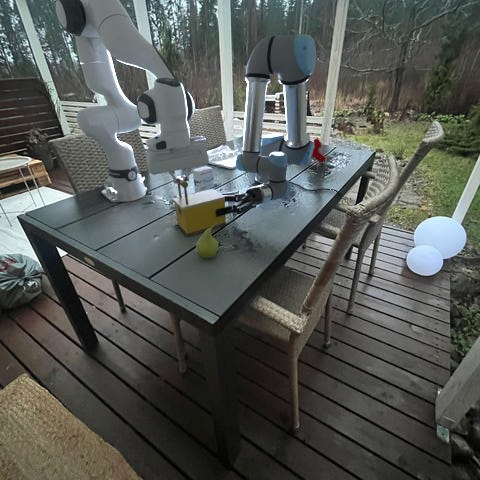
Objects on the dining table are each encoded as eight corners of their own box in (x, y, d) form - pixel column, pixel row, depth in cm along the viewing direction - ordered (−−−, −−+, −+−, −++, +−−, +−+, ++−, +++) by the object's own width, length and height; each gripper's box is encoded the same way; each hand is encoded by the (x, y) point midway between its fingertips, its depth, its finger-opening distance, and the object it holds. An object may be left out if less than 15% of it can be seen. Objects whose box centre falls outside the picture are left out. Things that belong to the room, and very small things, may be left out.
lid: (182, 210, 91) (178, 184, 86) (172, 201, 98) (168, 176, 93) (224, 199, 99) (223, 174, 94) (213, 191, 105) (211, 167, 100)
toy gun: (330, 157, 167) (317, 136, 163) (329, 159, 164) (317, 138, 160) (304, 172, 177) (292, 153, 173) (303, 174, 174) (291, 155, 170)
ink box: (208, 188, 135) (206, 165, 129) (214, 191, 132) (213, 167, 126) (194, 193, 130) (191, 169, 124) (200, 196, 127) (198, 172, 121)
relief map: (231, 168, 161) (231, 160, 158) (189, 159, 179) (189, 151, 176) (257, 158, 179) (257, 150, 176) (217, 150, 197) (216, 142, 194)
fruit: (195, 252, 89) (191, 220, 82) (216, 247, 91) (214, 216, 85) (200, 264, 84) (196, 230, 77) (223, 258, 86) (221, 225, 79)
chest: (187, 236, 97) (184, 210, 92) (178, 226, 104) (174, 200, 98) (225, 224, 105) (224, 199, 99) (214, 215, 111) (213, 191, 105)
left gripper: (201, 133, 91) (204, 173, 98) (140, 141, 82) (148, 185, 89) (210, 136, 86) (213, 178, 94) (146, 145, 77) (155, 191, 85)
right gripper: (243, 178, 119) (196, 189, 109) (275, 195, 103) (224, 210, 93) (243, 194, 123) (198, 206, 113) (274, 213, 107) (225, 229, 97)
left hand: (181, 181), depth 91 cm, fingers closed on lid, 2 cm apart
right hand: (210, 208), depth 103 cm, fingers closed on chest, 9 cm apart
